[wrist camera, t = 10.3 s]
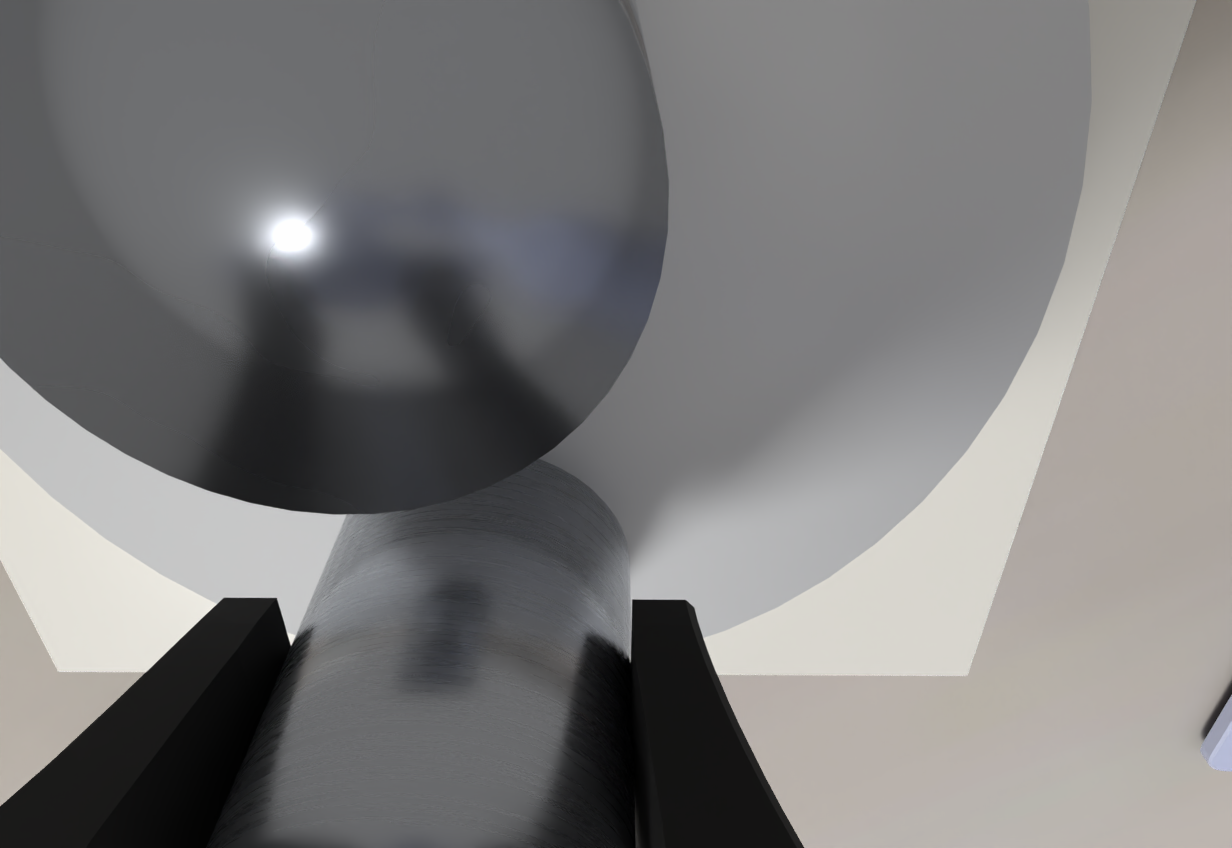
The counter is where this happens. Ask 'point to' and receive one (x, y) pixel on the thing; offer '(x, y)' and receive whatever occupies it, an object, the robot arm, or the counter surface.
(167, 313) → the cylinder
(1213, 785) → the counter surface
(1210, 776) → the counter surface
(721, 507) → the scale
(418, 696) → the cylinder
